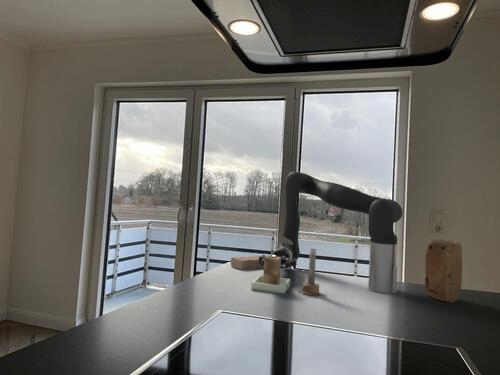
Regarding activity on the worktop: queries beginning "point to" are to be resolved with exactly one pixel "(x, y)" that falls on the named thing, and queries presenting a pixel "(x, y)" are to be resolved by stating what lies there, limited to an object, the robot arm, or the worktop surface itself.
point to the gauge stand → (311, 277)
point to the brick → (246, 262)
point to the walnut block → (272, 270)
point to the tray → (270, 285)
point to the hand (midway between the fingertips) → (274, 264)
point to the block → (443, 270)
